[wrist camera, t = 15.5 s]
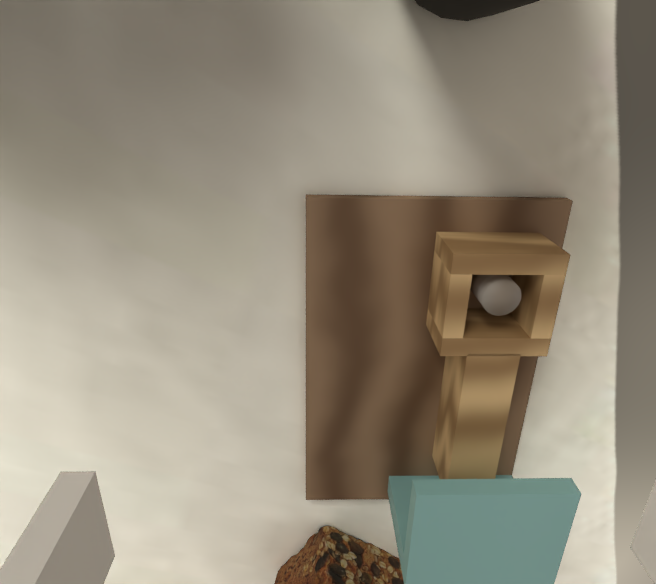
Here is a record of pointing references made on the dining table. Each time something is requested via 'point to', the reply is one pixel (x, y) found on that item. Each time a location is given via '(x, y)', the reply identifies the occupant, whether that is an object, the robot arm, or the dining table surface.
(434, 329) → the wooden square socket bar
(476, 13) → the coffee jar
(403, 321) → the pintle board
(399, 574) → the bread
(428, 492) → the block
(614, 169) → the dining table surface
